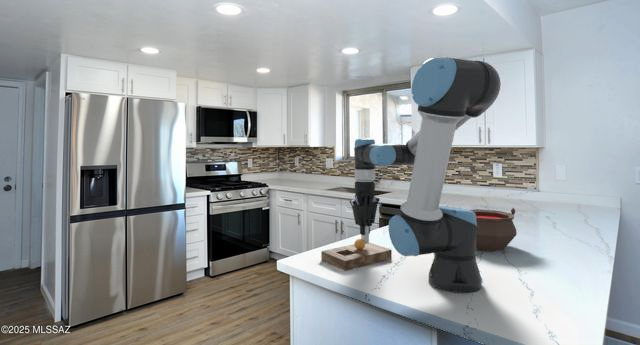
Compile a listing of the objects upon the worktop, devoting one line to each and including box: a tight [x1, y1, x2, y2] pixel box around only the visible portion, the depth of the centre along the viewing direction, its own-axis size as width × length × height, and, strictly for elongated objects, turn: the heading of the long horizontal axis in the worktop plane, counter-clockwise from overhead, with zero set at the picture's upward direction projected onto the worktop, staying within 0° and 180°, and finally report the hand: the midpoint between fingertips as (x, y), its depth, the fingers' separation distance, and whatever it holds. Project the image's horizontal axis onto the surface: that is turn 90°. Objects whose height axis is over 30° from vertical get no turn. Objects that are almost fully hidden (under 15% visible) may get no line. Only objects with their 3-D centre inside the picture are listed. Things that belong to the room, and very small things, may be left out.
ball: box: [354, 238, 365, 250], centre depth 132 cm, size 4×4×4 cm
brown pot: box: [470, 207, 517, 252], centre depth 147 cm, size 24×24×16 cm
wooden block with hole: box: [320, 242, 393, 272], centre depth 132 cm, size 22×14×4 cm, turn 124°
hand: (365, 242), depth 134 cm, fingers closed
